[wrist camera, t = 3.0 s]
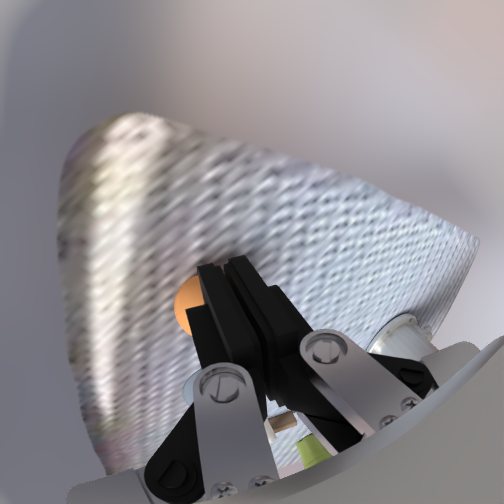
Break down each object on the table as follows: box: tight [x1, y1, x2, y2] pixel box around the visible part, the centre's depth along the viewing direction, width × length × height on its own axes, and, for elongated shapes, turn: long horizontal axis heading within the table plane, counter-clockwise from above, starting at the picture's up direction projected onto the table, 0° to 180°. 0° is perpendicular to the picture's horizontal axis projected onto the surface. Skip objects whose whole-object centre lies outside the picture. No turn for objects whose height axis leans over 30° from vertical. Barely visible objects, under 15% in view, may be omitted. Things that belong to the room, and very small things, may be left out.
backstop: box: [268, 411, 297, 433], centre depth 41 cm, size 20×2×2 cm, turn 94°
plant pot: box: [297, 434, 333, 469], centre depth 51 cm, size 9×9×9 cm
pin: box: [264, 418, 277, 444], centre depth 33 cm, size 2×2×9 cm
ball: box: [174, 275, 204, 336], centre depth 25 cm, size 6×6×6 cm
